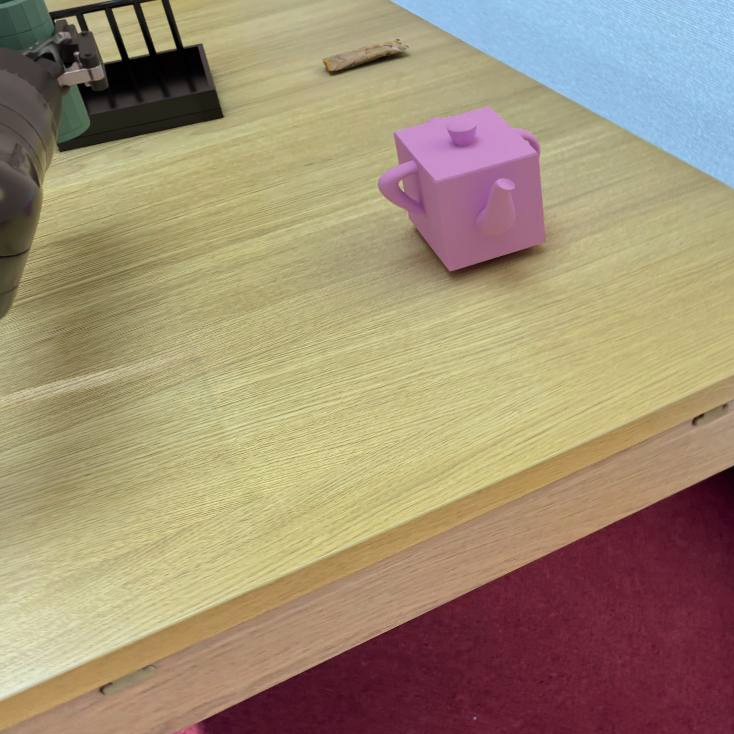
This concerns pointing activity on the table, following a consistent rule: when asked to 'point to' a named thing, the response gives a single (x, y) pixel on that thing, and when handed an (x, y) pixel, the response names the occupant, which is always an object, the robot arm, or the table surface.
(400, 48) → the snack bar
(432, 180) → the teapot
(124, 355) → the table surface
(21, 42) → the jar
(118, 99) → the dish rack
